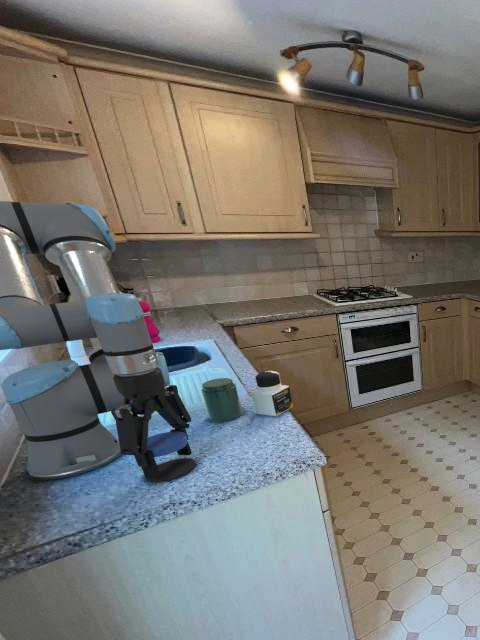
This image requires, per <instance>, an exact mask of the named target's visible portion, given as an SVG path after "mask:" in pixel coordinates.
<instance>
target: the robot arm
mask: <svg viewBox="0 0 480 640" xmlns="http://www.w3.org/2000/svg"><path fill="white" fill-rule="evenodd" d="M115 251H116V242H115V239H114V237H113V235H112V233H111V231H110V228H109V226H108V224H107V222H106V221H105V218H104V217H103V216H102V215H101V213H100V211H98V210H97V209H96V208H95V207H93V206H91V205H89V204H83V203H82V204H81V203H72V202H65V203H57V202H56V203H55V202H54V203H53V202H27V201H7V200H0V351H6V350H7V351H8V350H20V349H27V348H32V347H38V346H45V345H53V344H59V343H66V342H75V341H81V340H90V342H91V345H92V347H93V351H92V352H91V353H90V354H89V355H88V361H89V363H87V364H80V365H79V363H78V362H76V361H75V360H73V359H62V360H53V361H49V362H44V363H39V364H35V365H33V366H29V367H27V368H23V369H20V370H18V371H16V372H13V373H12V374H10V375H8V376H6V377H5V378H4V379H3V381H2V383H1V389H2V391H3V394H4V397H5V402H6V404H8V405H9V407H10V408H11V410H12V412H13V415H14V417H15V419H16V421H17V423H18V425H19V428H20V429H21V432H22V433H23V436H24V438H25V440H26V441H27V462H26V469H27V473H28V475H29V476H30V478H31V479H33V480H37V481H55V480H62V479H68V478H72V477H75V476H80V475H82V474H86V473H88V472H92V471H94V470H97V469H100V468H101V467H104V466H105V465H108V464H110V463H112V462H113V461H115V460H116V459H117V458H119V457H120V456H121V455H122V456H134V459H135V462H136V464H137V466H138V467H139V468H141V470H142V473H143V475H144V478H145V479H146V478H159V477H160V476H161V475H160V472H159V470H158V467H157V465H158V464H157V461H156V459H155V457H154V456H153V453H152V450H147V441H148V437H149V424H150V423H149V422H150V421H151V420H152V415H153V414H154V413H156V412H157V413H158V415H160V417H161V418H162V419H163V420H164V421H165V422H166V423H167V424H168V425H169V426H170V427H171V428H172V429H171V430H169V432H173V431H179V432H183V433H185V434H186V437H187V440H188V441H189V435H188V431H187V429H189V428H190V426H191V424H190V423H192V417H191V415H190V413H189V412H188V410H187V408H186V406H185V404H184V402H183V400H182V399H181V396H180V394H179V389H178V386H177V385H176V384H171V380H170V379H171V378H170V373H169V369H168V363H167V360H166V357H165V356H164V353H163V352H161V351H155V348H154V343H152V342H151V339H150V335H149V332H148V329H147V326H146V322H145V319H144V316H143V309H142V308H141V307H140V304H139V302H138V299H137V298H138V297H137V296H136V295H134V294H132V293H126V292H120V289H119V287H118V285H117V283H116V280H115V278H114V276H113V273H112V271H111V268H110V266H109V263H108V262H109V261H110V260H111V258H112V253H114V252H115ZM25 255H44V256H45V258H46V259H47V261H48V262H50V263H51V264H54V265H56V266H58V267H59V269H60V272H61V274H62V276H63V279H64V281H65V284H66V286H67V288H68V291H69V293H70V295H71V297H72V298H71V299H72V300H73V301H69V302H68V301H67V302H59V303H58V302H57V303H46V304H45V303H44V304H43V301H42V300H41V297H40V295H39V292H38V290H37V287H36V286H35V285H36V284H35V282H34V280H33V278H32V275H31V273H30V270H29V268H28V266H27V263H26V261H25V258H24V256H25ZM109 412H110V414H111V415H112V417H113V418H114V421H115V426H116V431H117V438H116V437H115V436H114V435H113V433H111V432H110V431H109V429H107V428H106V427H105V426H104V425H103V424H102V422H101V420H100V418H99V415H100V414H105V413H109ZM138 446H139V447H138ZM191 449H192V448H191V446H190V443H189V442H188V443H187V445H186V446H185V447H183V448H182V449H180V450H178V451H176V453H177V456H191V455H192V454H193V453H192V450H191Z"/></svg>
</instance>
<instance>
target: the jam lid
mask: <svg viewBox="0 0 480 640" xmlns="http://www.w3.org/2000/svg"><path fill="white" fill-rule="evenodd" d="M187 443H189V439H188V440H187V437H186V434H185V433H183V432H179V431H173V432H170V431H165V432H161V433H157V434H153V435H151V436H148V441H147V450H152V453H153V456H154V458H159V457H164V456H168V455H171V454H173V453H177V451H178V450H180V449H182V448H183V447H185V446H186V445H187ZM138 447H139V446H138Z"/></svg>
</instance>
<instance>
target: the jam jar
mask: <svg viewBox="0 0 480 640" xmlns="http://www.w3.org/2000/svg"><path fill="white" fill-rule="evenodd" d="M201 394H202V397H203V401H204V404H205V407H206V410H207V414H208V415H207V416H208V418H209V420H210V422H215V423H223V422H229V421H233V420H235V419H237V418H239V417H241V416H242V415H243V413H244V412H243V409H242V408H243V407H242V404H241V401H240V400H241V399H240V396H239V393H238V388H237V384H236V383H234V381H233V379H232V378H228V377H220V378H214V379H209V380H206V381H205V382H203V383H202V385H201Z"/></svg>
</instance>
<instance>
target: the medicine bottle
mask: <svg viewBox="0 0 480 640" xmlns="http://www.w3.org/2000/svg"><path fill="white" fill-rule="evenodd" d="M254 378H255V382H256V387H257V389H254V390H253V391H251V392H250V393H251V398H252V402H253V406H254V410H255V414H256V415H261V416H270V417H278V416H280V415H282V414H284V413H285V412H287V411H288V410H290V409H292V408H293V407H294V404H293V399H292V394H291V390H290V386H289V385H285V384H282V381H281V375H280V373H279V372H278V371H274V370H265V371H262V372H259V373H258V374H256V376H255V377H254Z"/></svg>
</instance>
